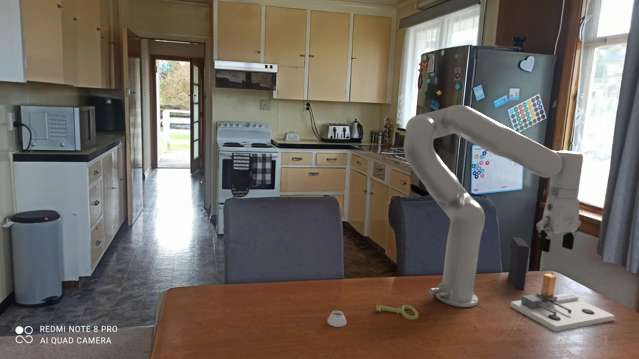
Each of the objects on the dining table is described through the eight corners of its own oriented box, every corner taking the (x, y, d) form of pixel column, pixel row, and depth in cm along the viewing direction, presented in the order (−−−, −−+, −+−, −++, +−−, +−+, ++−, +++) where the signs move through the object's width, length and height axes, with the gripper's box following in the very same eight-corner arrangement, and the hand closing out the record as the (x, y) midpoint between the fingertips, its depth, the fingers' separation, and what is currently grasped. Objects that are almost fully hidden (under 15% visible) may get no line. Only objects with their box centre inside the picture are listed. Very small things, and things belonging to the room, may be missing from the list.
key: (372, 311, 129) (373, 304, 129) (412, 309, 132) (412, 302, 132) (382, 323, 122) (383, 315, 122) (423, 320, 126) (424, 313, 125)
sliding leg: (565, 314, 129) (570, 287, 128) (535, 299, 138) (539, 273, 137) (575, 312, 131) (580, 285, 129) (545, 297, 140) (549, 272, 139)
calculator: (526, 290, 151) (532, 247, 149) (512, 288, 152) (518, 245, 150) (518, 278, 162) (524, 238, 159) (506, 277, 163) (511, 236, 160)
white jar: (349, 327, 118) (341, 318, 123) (350, 316, 118) (342, 308, 122) (331, 329, 117) (324, 320, 121) (332, 318, 116) (325, 310, 121)
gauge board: (555, 331, 123) (557, 317, 122) (510, 306, 137) (512, 293, 137) (613, 320, 132) (616, 307, 132) (565, 297, 147) (567, 286, 146)
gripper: (553, 197, 125) (545, 256, 128) (595, 194, 132) (587, 251, 135) (531, 191, 132) (524, 248, 135) (572, 190, 139) (565, 243, 142)
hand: (555, 249), depth 135 cm, fingers open, 9 cm apart
